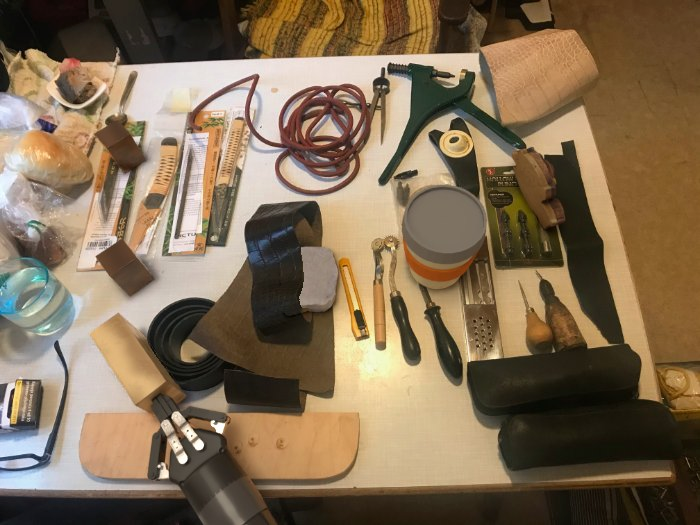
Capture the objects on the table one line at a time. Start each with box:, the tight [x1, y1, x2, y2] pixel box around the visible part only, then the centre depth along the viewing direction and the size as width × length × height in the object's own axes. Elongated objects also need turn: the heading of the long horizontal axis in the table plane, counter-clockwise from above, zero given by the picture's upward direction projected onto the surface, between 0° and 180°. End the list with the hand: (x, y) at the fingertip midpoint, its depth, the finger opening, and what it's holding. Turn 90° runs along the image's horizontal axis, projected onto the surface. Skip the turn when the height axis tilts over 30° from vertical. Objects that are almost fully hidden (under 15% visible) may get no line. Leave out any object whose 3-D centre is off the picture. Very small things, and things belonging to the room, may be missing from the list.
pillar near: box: [95, 238, 156, 297], centre depth 86 cm, size 5×5×8 cm
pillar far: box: [94, 119, 147, 175], centre depth 99 cm, size 5×5×8 cm
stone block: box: [299, 246, 339, 313], centre depth 86 cm, size 12×5×10 cm
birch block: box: [88, 312, 187, 418], centre depth 77 cm, size 5×14×9 cm, turn 41°
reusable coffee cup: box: [401, 184, 488, 290], centre depth 81 cm, size 13×13×15 cm
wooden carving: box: [511, 146, 566, 230], centre depth 89 cm, size 16×5×10 cm, turn 20°
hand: (157, 398), depth 73 cm, fingers closed
